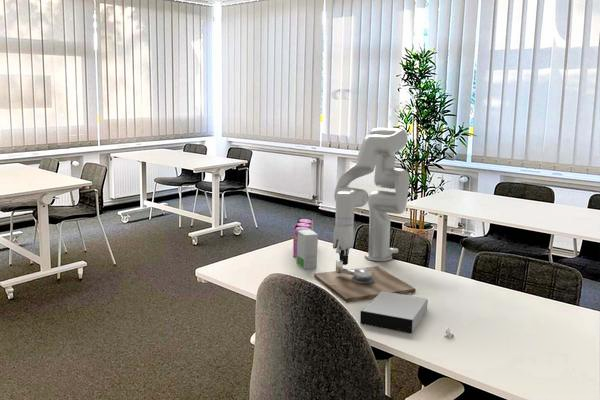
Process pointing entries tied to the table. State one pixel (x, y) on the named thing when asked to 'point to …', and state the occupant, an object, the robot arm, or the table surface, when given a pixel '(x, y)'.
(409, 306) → the disc drive
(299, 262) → the skincare box
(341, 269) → the lock lever
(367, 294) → the mounting board
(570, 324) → the table surface
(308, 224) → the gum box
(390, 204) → the robot arm
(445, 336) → the adhesive hook
